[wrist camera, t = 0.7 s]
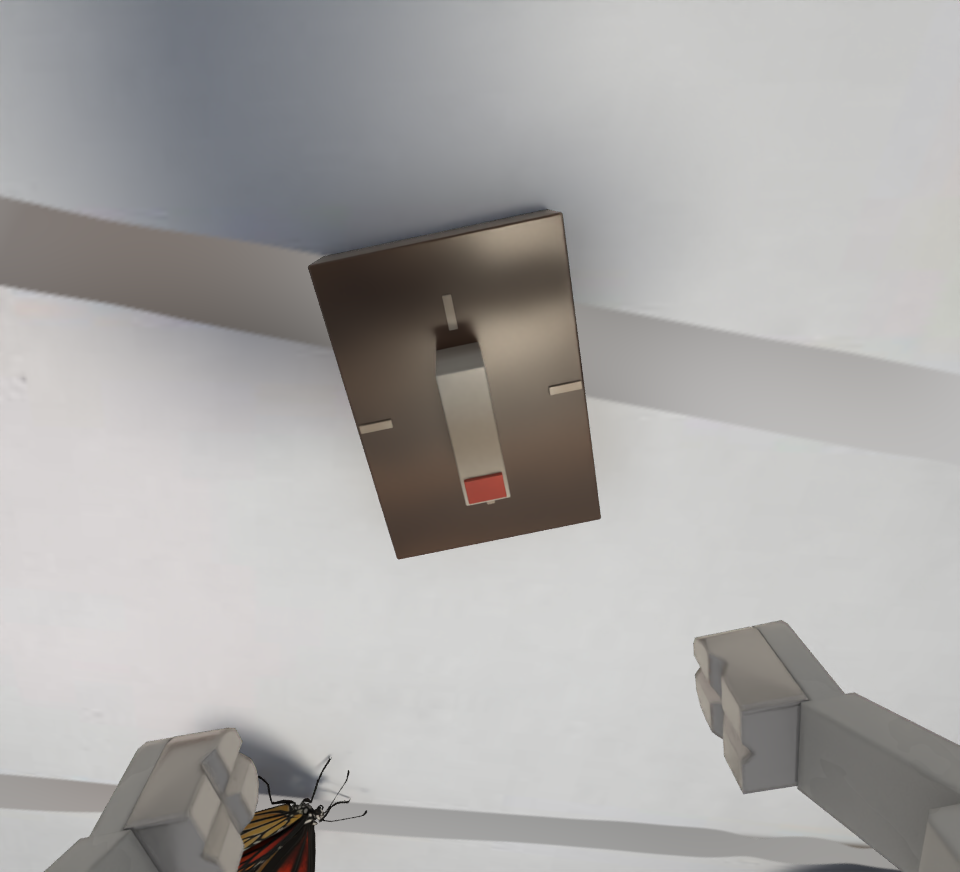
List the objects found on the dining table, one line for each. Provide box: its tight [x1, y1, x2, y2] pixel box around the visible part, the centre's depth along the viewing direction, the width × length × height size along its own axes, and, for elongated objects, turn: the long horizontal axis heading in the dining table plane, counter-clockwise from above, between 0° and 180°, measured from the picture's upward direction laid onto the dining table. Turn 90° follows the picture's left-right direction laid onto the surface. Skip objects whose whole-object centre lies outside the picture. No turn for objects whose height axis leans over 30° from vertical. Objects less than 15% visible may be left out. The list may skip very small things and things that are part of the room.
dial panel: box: [308, 209, 601, 559], centre depth 26 cm, size 14×10×3 cm
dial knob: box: [436, 342, 510, 506], centre depth 23 cm, size 6×2×4 cm, turn 11°
